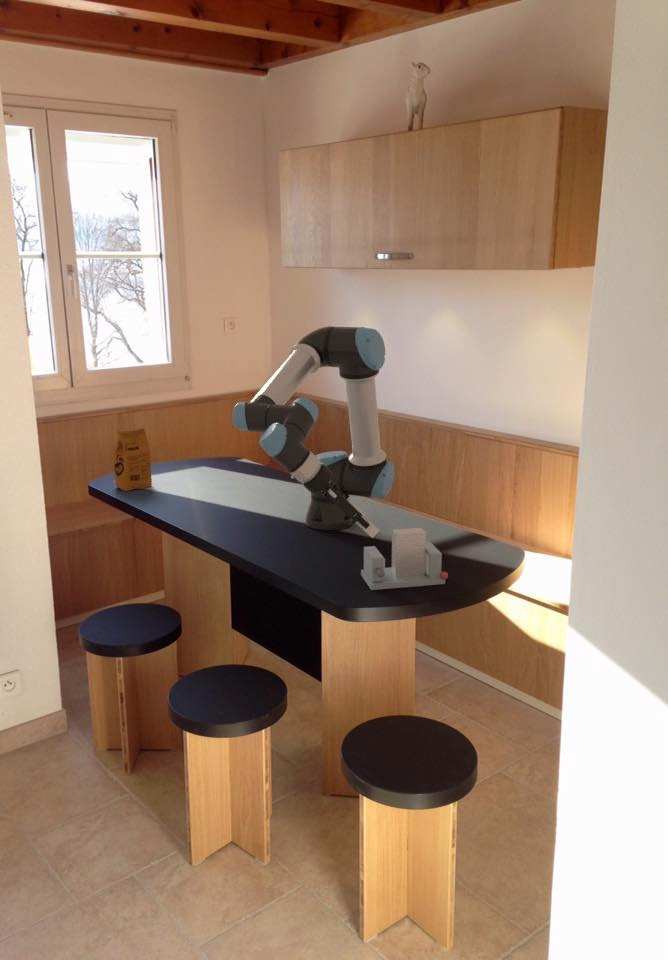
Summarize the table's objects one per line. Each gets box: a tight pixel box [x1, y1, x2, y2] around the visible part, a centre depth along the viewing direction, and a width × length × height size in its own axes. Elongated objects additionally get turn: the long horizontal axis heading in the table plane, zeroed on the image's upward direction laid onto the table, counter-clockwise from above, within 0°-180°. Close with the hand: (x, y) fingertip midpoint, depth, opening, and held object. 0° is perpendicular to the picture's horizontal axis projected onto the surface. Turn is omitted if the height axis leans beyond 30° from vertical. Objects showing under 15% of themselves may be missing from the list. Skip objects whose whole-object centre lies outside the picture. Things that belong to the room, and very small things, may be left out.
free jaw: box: [363, 545, 386, 582], centre depth 223 cm, size 13×4×6 cm, turn 12°
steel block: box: [391, 527, 427, 578], centre depth 226 cm, size 4×8×12 cm, turn 102°
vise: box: [360, 540, 449, 591], centre depth 226 cm, size 12×21×8 cm, turn 102°
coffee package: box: [113, 426, 153, 492], centre depth 316 cm, size 10×12×22 cm
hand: (369, 525), depth 222 cm, fingers open, 13 cm apart
